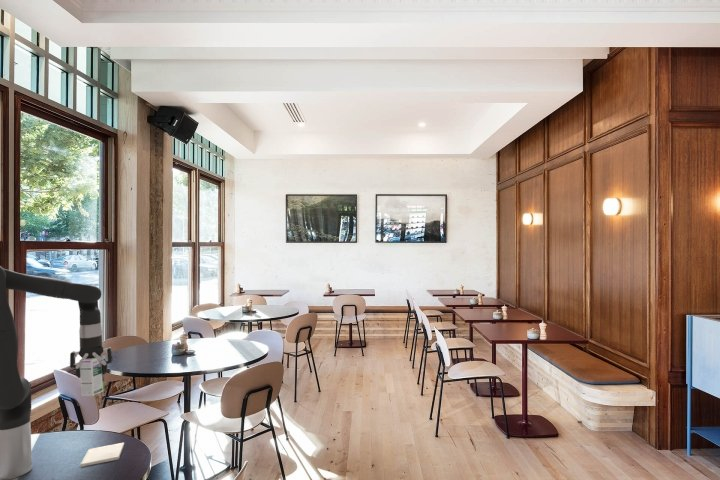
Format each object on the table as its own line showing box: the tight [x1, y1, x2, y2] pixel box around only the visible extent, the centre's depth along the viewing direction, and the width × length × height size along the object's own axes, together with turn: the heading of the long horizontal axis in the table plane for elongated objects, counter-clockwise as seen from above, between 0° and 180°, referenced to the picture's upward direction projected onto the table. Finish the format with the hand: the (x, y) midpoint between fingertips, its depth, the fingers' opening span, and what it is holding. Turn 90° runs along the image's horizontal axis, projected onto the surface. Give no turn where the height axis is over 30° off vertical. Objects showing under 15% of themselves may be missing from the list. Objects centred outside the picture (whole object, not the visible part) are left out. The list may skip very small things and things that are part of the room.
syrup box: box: [79, 355, 106, 397], centre depth 164 cm, size 6×6×14 cm
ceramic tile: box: [80, 442, 125, 468], centre depth 155 cm, size 12×12×1 cm
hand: (92, 375), depth 164 cm, fingers closed on syrup box, 8 cm apart
